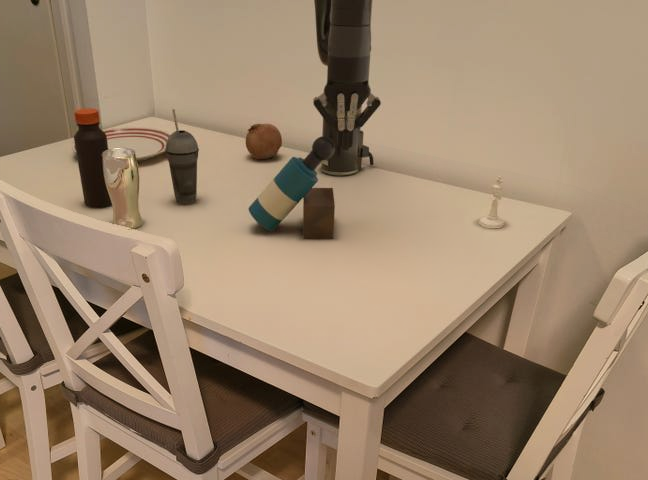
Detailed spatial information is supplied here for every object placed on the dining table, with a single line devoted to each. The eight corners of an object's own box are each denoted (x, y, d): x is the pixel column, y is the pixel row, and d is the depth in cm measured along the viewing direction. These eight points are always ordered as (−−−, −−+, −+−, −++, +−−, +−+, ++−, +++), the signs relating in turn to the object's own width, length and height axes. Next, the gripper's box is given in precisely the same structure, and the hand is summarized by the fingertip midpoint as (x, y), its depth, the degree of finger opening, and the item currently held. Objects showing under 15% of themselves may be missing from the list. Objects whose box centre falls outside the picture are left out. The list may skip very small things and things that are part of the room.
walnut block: (303, 238, 136) (303, 205, 133) (302, 219, 145) (303, 187, 141) (333, 239, 136) (334, 205, 132) (331, 220, 145) (332, 187, 141)
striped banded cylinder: (247, 235, 138) (245, 141, 128) (249, 222, 144) (248, 131, 133) (331, 236, 138) (336, 141, 127) (330, 223, 143) (334, 131, 133)
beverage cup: (196, 208, 151) (190, 114, 140) (165, 206, 152) (156, 112, 141) (206, 196, 157) (200, 106, 146) (175, 194, 158) (167, 104, 147)
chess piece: (490, 230, 139) (499, 182, 134) (474, 222, 143) (481, 175, 138) (508, 225, 141) (518, 178, 136) (492, 217, 145) (500, 171, 139)
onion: (252, 171, 181) (234, 139, 175) (260, 152, 187) (243, 120, 181) (284, 161, 177) (267, 128, 170) (291, 142, 183) (275, 109, 176)
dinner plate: (169, 169, 174) (167, 156, 172) (61, 169, 174) (59, 156, 172) (182, 138, 196) (181, 126, 195) (87, 139, 197) (85, 127, 195)
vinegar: (120, 204, 153) (107, 112, 142) (90, 210, 150) (75, 116, 139) (109, 195, 158) (96, 105, 147) (80, 201, 155) (65, 109, 144)
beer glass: (112, 218, 146) (102, 147, 138) (145, 217, 147) (137, 146, 138) (109, 231, 140) (98, 158, 132) (143, 230, 141) (134, 157, 133)
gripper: (384, 48, 125) (376, 143, 134) (311, 48, 125) (309, 143, 135) (389, 55, 119) (380, 155, 128) (312, 55, 119) (310, 155, 128)
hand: (344, 149), depth 131 cm, fingers closed
